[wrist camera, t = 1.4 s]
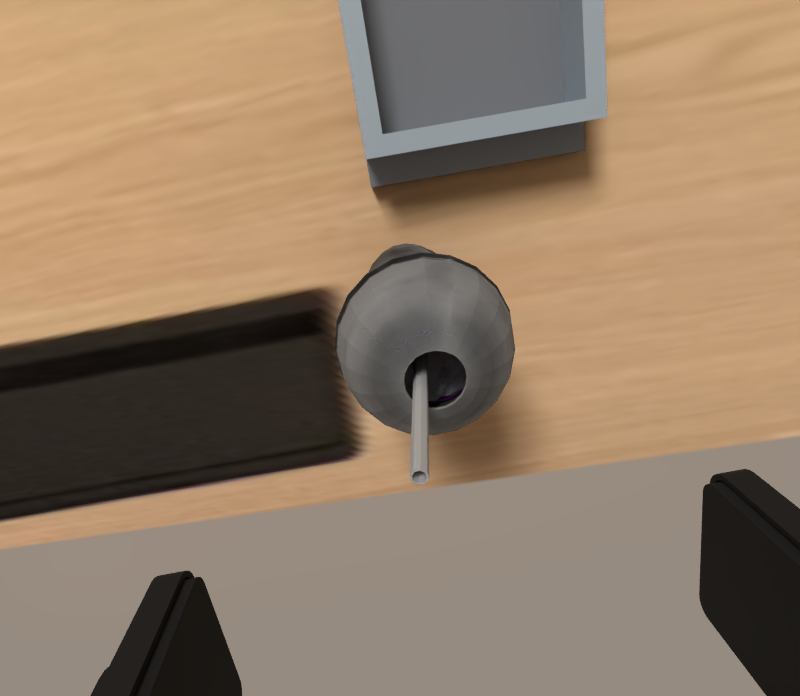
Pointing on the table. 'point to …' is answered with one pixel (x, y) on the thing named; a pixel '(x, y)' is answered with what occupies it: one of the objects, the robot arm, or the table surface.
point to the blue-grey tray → (472, 81)
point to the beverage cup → (424, 345)
